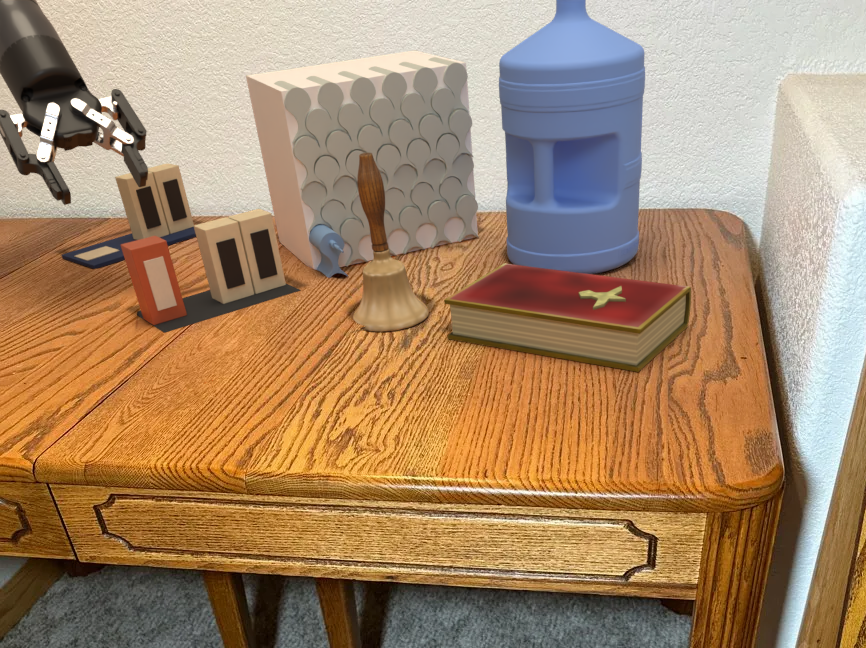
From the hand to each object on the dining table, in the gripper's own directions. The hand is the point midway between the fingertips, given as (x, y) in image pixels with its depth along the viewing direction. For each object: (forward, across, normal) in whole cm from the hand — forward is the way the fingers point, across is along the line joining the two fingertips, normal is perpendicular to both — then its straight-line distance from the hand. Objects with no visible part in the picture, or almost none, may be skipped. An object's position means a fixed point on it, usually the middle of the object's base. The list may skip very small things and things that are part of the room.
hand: (106, 190), depth 99 cm
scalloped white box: (+13, +32, +5) cm, 34 cm away
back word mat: (-9, +9, +26) cm, 29 cm away
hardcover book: (+40, +27, -22) cm, 53 cm away
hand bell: (+28, +18, -10) cm, 34 cm away
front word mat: (+14, +6, +4) cm, 16 cm away
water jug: (+28, +44, -10) cm, 53 cm away
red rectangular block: (+14, 0, +3) cm, 14 cm away
